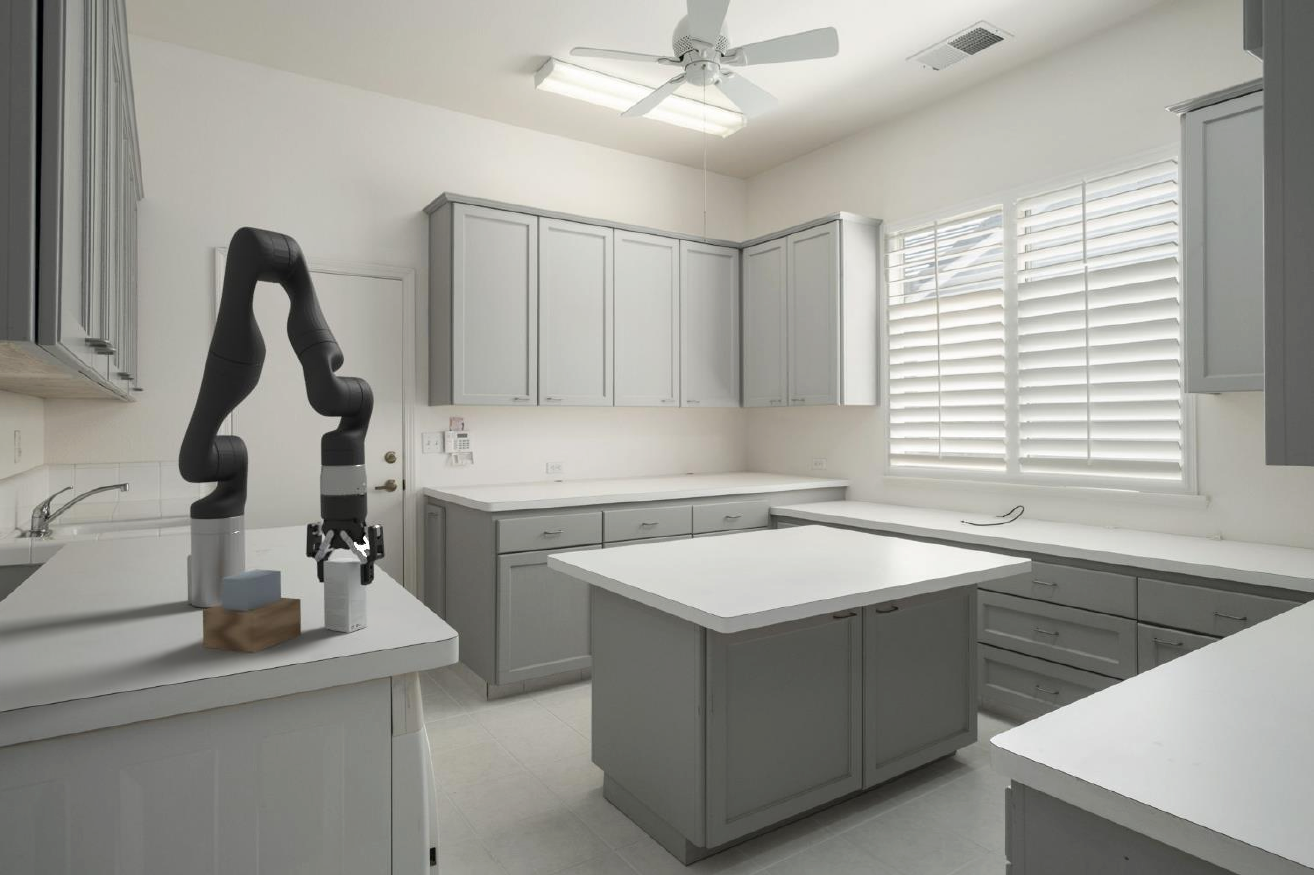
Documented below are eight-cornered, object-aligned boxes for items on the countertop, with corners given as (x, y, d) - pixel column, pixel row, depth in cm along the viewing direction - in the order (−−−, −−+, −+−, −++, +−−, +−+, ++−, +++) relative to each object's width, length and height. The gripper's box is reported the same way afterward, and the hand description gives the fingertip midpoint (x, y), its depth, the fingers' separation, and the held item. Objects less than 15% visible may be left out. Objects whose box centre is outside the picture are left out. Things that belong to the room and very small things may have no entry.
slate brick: (222, 608, 117) (221, 578, 117) (257, 598, 124) (256, 569, 124) (247, 611, 116) (247, 580, 116) (281, 600, 123) (280, 571, 123)
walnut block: (203, 647, 117) (202, 610, 117) (253, 629, 126) (252, 595, 126) (254, 652, 114) (253, 614, 114) (300, 633, 124) (300, 599, 124)
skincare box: (367, 627, 128) (367, 559, 128) (348, 633, 124) (347, 564, 124) (343, 622, 131) (342, 556, 130) (323, 629, 127) (322, 561, 126)
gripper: (293, 492, 125) (295, 585, 125) (364, 493, 121) (366, 590, 121) (324, 488, 132) (326, 576, 132) (392, 489, 128) (394, 580, 129)
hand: (345, 583), depth 127 cm, fingers open, 8 cm apart
